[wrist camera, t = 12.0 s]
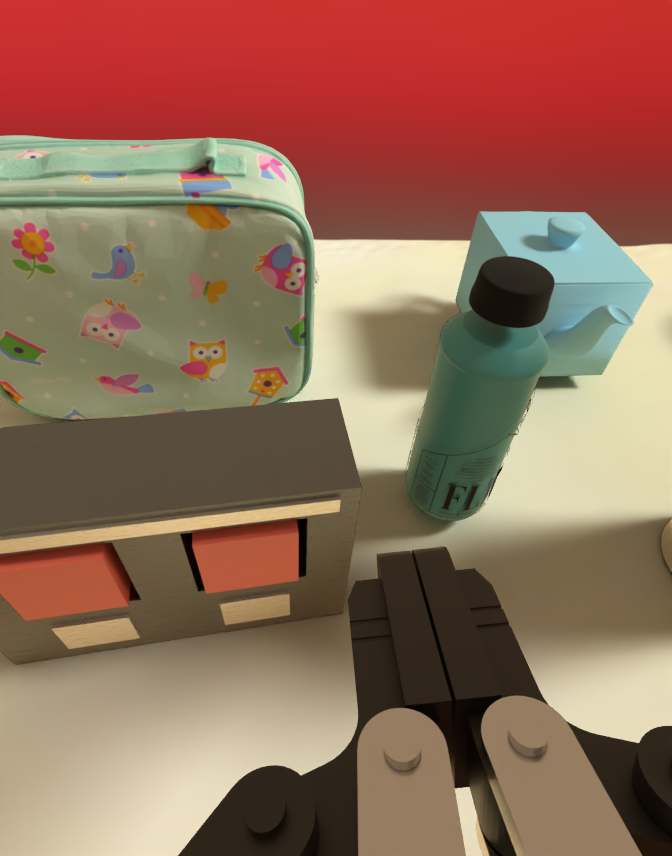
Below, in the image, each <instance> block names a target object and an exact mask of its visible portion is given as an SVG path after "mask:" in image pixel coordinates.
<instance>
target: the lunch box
mask: <svg viewBox="0 0 672 856" xmlns="http://www.w3.org/2000/svg"><path fill="white" fill-rule="evenodd" d="M318 280H319V276H318V273H317V271H316V268H315V250H314V241H313V234H312V231H311V228H310V225H309V223H308V221H307V219H306V216H305V211H304V195H303V189H302V185H301V181H300V178H299V176H298V174H297V172H296V170H295V169H294V167H293V166H292V164H291V163H290V162H289V161H288V160H287V158H286V157H284V156H283V155H282V154H281V153H279V152H278V151H276V150H274V149H273V148H271V147H268V146H266V145H263V144H260V143H256V142H252V141H247V140H239V139H224V138H222V139H221V138H205V139H179V140H73V139H56V138H48V137H37V136H24V135H21V136H20V135H18V136H17V135H16V136H15V135H13V136H0V393H1V394H2V395H3V396H4V397H5V398H6V399H7V400H8V401H9V402H10V403H12V404H13V405H15V406H16V407H18V408H20V409H22V410H24V411H27V412H30V413H33V414H36V415H40V416H44V417H51V418H61V419H75V420H78V419H100V418H114V417H129V416H141V415H152V414H164V413H175V412H187V411H198V410H210V409H221V408H232V407H244V406H255V405H267V404H278V403H283V402H285V401H287V400H289V399H291V398H293V397H294V396H296V395H297V394H298V393H299V392H300V391H301V390H302V389H303V388H304V387H305V385H306V384H307V382H308V379H309V377H310V373H311V367H312V357H313V330H314V303H315V282H316V283H317V282H318Z"/></svg>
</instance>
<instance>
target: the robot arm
mask: <svg viewBox="0 0 672 856" xmlns="http://www.w3.org/2000/svg"><path fill="white" fill-rule="evenodd" d="M661 548H662V552H663V556H664V559H665V561H666V563H667V565H668V567H669V569H670V571H671V572H672V519H671V520H670V521H669V522H668V524H667V525H666V526H665V527H664V530H663V533H662V536H661ZM377 568H378V579H371V580H361V581H356V582H355V585H354V587H353V589H352V592H351V594H350V596H349V599H348V606H349V617H350V628H351V638H352V649H353V660H354V670H355V681H356V692H357V702H358V724H357V728H356V731H355V734H354V736H353V738H352V740H351V742H350V743H349V745H348V746H347V747H346V749H345V750H344V751H343V752H342V753H341V754H340V755H338V756H337V757H336V758H335V759H333V760H332V761H330V762H328V763H326V764H325V765H323V766H320V767H318V768H316V769H314V770H312V771H310V772H308V773H306V774H304V775H302V776H301V775H299V774H298V773H297V772H295V771H294V770H292V769H290V768H287V767H284V766H266V767H261V768H258V769H256V770H254V771H252V772H250V773H248V774H247V775H245V776H244V777H243V778H241V779H240V780H239V781H238V782H237V783H236V784H235V785H234V786H233V787H232V789H231V790H230V791H229V792H228V794H227V795H226V796H225V797H224V799H223V800H222V801H221V802H220V804H219V805H218V806H217V807H216V809H215V810H214V811H213V813H212V814H211V815H210V816H209V818H208V819H207V820H206V821H205V823H204V824H203V825H202V826H201V828H200V829H199V830H198V831H197V833H196V834H195V835H194V836H193V838H192V839H191V840H190V841H189V843H188V844H187V845H186V846H185V848H184V849H183V850H182V851H181V853H180V854H179V855H178V856H466V854H465V848H464V842H463V836H462V830H461V824H460V818H459V812H458V806H457V800H456V794H455V789H454V788H462V787H470V790H471V794H472V797H473V801H474V805H475V809H476V813H477V821H476V831H477V838H478V842H479V845H480V848H481V851H482V854H483V856H672V726H662V727H657V728H654V729H652V730H650V731H649V732H647V733H646V734H645V735H644V736H643V737H642V738H641V741H640V743H635V742H630V741H625V740H621V739H616V738H611V737H606V736H602V735H597V734H593V733H590V732H587V731H584V730H582V729H579V728H578V727H576V726H574V725H572V724H570V723H569V722H567V721H566V720H565V719H564V718H563V717H562V716H561V715H560V714H559V713H558V712H557V711H555V710H554V709H553V708H552V707H550V706H549V705H548V704H547V702H546V701H545V700H544V698H543V696H542V694H541V693H540V691H539V688H538V686H537V684H536V682H535V680H534V677H533V675H532V673H531V671H530V669H529V666H528V664H527V662H526V660H525V657H524V655H523V653H522V651H521V649H520V646H519V644H518V642H517V640H516V638H515V635H514V633H513V631H512V629H511V627H509V623H508V620H507V618H506V615H505V613H504V611H503V609H501V604H500V602H499V600H498V598H497V596H496V593H495V591H494V589H493V587H492V585H491V584H490V583H489V582H488V581H487V580H486V579H485V578H484V577H483V576H482V575H481V574H479V573H478V572H477V571H476V570H475V569H465V570H455V568H454V565H453V563H452V560H451V557H450V555H449V552H448V550H447V548H446V547H438V548H428V549H419V550H412V553H411V552H410V551H401V552H392V553H382V554H377Z"/></svg>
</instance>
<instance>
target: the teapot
mask: <svg viewBox="0 0 672 856" xmlns="http://www.w3.org/2000/svg"><path fill="white" fill-rule="evenodd" d="M502 256H513V257H520V258H525V259H528V260H531V261H534V262H536V263H538V264H540V265H542V266H543V267H545V268H546V269H547V270H548V271H549V272H550V273H551V274H552V275H553V277H554V281H555V284H554V289H553V292H552V295H551V298H550V302H549V308H548V311H547V313H546V316H545V318H544V319H543V320H542V322H540V323H539V324H537V325H535V326H536V327H537V328H538V330H539V331H540V332H541V334H542V335H543V337H544V339H545V340H546V342H547V345H548V348H549V359H548V362H547V365H546V366H545V368H544V369H543V371H542V372H541V375H540V377H545V376H563V377H568V376H576V375H602V373H603V371H604V370H605V368H606V366H607V364H608V363H609V361H610V359H611V357H612V356H613V354H614V352H615V350H616V349H617V347H618V345H619V343H620V342H621V340H622V338H623V336H624V335H625V333H626V331H627V329H628V328H629V326H630V325H633V324H634V321H633V319H634V317H635V315H636V313H637V312H638V310H639V308H640V306H641V305H642V303H643V301H644V299H645V298H646V296H647V294H648V292H649V291H650V289H651V287H652V285H653V284H652V281H651V280H650V279H649V278H648V277H647V275H646V274H645V273H644V272H643V271H642V270H641V269H640V268H639V267H638V266H637V265H636V264H635V263H634V262H633V261H632V260H631V259H630V258H629V256H628V255H627V254H626V253H625V252H624V251H623V250H622V249H621V248H620V247H619V246H618V245H617V244H616V243H615V242H614V241H613V240H612V239H611V238H610V237H609V236H608V235H607V234H606V233H605V232H604V231H603V230H602V229H601V228H600V227H599V226H598V224H597V223H595V222H594V220H592V218H590V216H589V215H588V214H586V213H585V212H531V211H522V212H479V213H478V215H477V219H476V223H475V227H474V231H473V235H472V238H471V242H470V246H469V250H468V254H467V258H466V262H465V265H464V269H463V273H462V277H461V281H460V285H459V289H458V292H457V296H456V303H457V305H458V307H459V309H460V311H461V313H462V312H464V311H467V310H470V309H472V308H471V306H470V304H469V295H470V292H471V289H472V286H473V285H474V283H475V280H476V277H477V275H478V272H479V269H480V267H481V266H482V264H483V263H484V262H485V261H487V260H489V259H491V258H495V257H502Z"/></svg>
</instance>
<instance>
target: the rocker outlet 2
mask: <svg viewBox="0 0 672 856" xmlns="http://www.w3.org/2000/svg"><path fill="white" fill-rule="evenodd" d="M192 547H193V550H194V554H195V557H196V560H197V564H198V567H199V571H200V574H201V577H202V581H203V584H204V588H205V591H206V594H209V593H216V592H223V591H230V590H236V589H243V588H250V587H257V586H264V585H271V584H278V583H285V582H292V581H299V532H298V525H297V519H295V520H287V521H279V522H271V523H263V524H255V525H247V526H239V527H231V528H223V529H215V530H207V531H199V532H192Z"/></svg>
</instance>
